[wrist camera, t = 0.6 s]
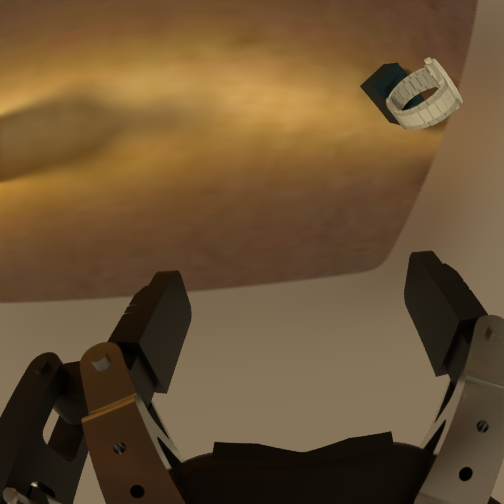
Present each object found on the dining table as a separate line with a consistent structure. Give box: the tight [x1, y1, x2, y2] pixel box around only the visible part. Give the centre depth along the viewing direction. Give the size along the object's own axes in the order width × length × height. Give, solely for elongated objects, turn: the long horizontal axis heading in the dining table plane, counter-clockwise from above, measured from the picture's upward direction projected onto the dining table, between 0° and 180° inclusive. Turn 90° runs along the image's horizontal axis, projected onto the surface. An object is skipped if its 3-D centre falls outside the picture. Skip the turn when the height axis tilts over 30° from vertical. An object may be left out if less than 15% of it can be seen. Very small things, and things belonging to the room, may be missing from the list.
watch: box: [360, 57, 463, 130], centre depth 23 cm, size 6×8×11 cm
